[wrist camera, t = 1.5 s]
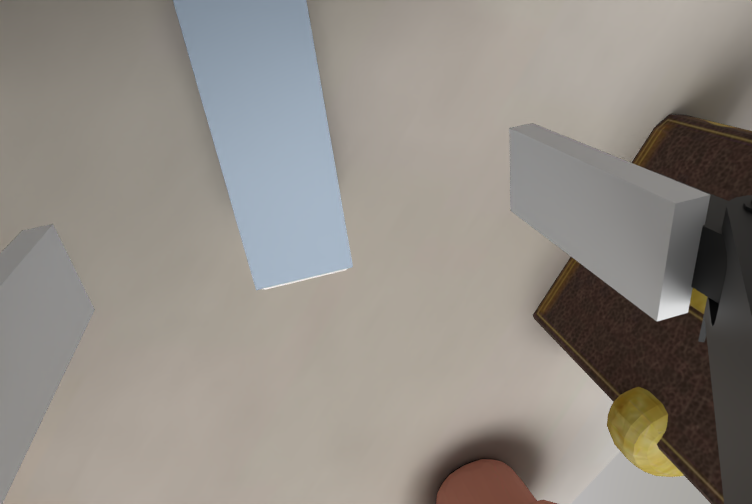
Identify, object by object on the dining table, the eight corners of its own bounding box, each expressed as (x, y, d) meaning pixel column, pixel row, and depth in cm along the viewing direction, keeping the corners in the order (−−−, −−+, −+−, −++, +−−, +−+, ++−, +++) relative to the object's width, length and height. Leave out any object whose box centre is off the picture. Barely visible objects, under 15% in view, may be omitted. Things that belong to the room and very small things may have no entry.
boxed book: (251, 225, 33) (257, 294, 25) (185, -19, 26) (165, -28, 18) (325, 209, 34) (353, 271, 26) (279, -31, 27) (298, -46, 19)
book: (659, 98, 36) (1291, 236, 15) (728, 143, 40) (1325, 310, 18) (505, 340, 43) (783, 684, 21) (575, 361, 46) (877, 677, 25)
